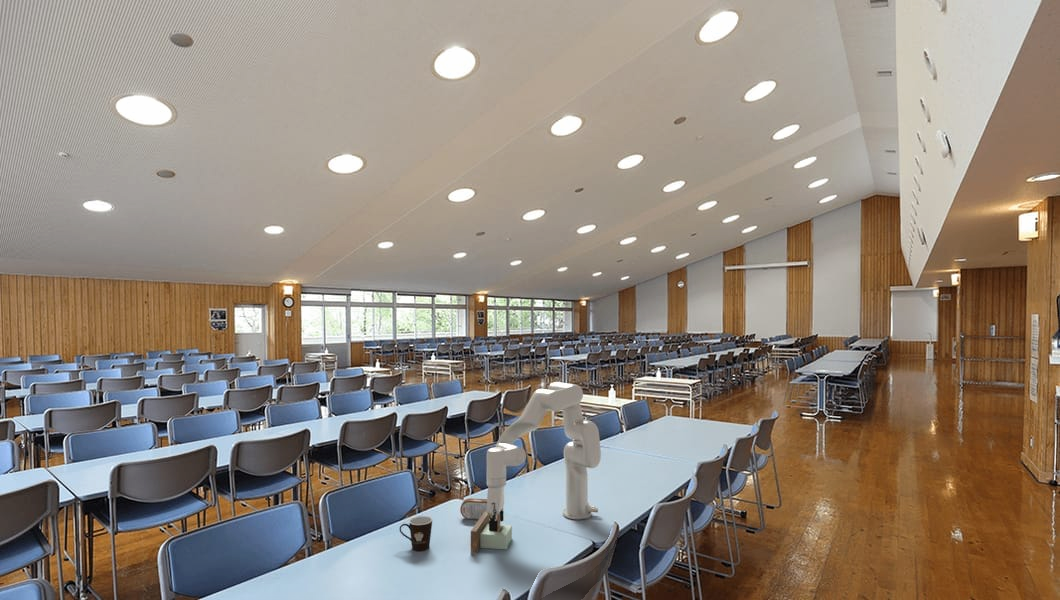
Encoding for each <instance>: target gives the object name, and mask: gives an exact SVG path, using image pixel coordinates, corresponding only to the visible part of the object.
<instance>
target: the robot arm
mask: <svg viewBox="0 0 1060 600" xmlns="http://www.w3.org/2000/svg"><path fill="white" fill-rule="evenodd" d="M583 397H584V391H583V389H582V387H581V386H580V385H578V384H575V383H568V382H562V381H561V382H560V381H555V382H551V383H549V385H548V387H547V389H546V388H538V389H536V390H535V391H534V392H533V394H532V396H531V397H530V398H529V401H528V403H527V405H526V406H525V408H524V409H523V411H522V413H521V415H520V417H519V418H518V419H516V420H515V421H514V422H513V423H511V424H510V425H509V426H508V427H506V429H505V430H503V432H502V433H501V435H500V436H499V439H498V440H497V442H496V444H495V447H491V448H490V447H489V449H487V450H486V486H487V487H488V488H487V495H486V496H487V497H486V499H487V513H489V515H490V516H489V531H496V532H497V531H498V520H497V515H498V514H499V513H500V522H504V506H505V486H506V485H507V467H516V466H520V465H522V464H523V463H524V462H525V461H526V458H527V453H526V450H525V449H524V448H522V447H521V446H518V445H516V444H514V443H515V442H516V441H517V440H518V438H520V437H521V436H523V435H525V434H528V433H530V432H534V431H536V430H537V429H539V427H540V425H541V423H542V421H543V419H544V417H545V415H546V414H547V412H549V411H550V412H560V411H562V418H563V429H564V434H565V436H566V437H567V439H569V440H572V441H569V442H567V443H566V444H565V446H564V448H563V458H564V459H563V460H564V464H565V495H566V496H565V497H566V498H565V499H566V500H565V501H566V502H565V504H566V505H565V509H563V510H562V516H564V518H567V519H571V520H577V521H578V520H586V519H588V518H590V517H592V513H599V507H596V506H595V505H592V506H591V505H590V503H589V501H588V498H589V495H588V493H589V492H588V491H589V488H588V487H589V486H588V484H589V483H588V482H589V481H588V480H589V479H588V477H589V476H588V475H589V474H588V470H587V469H594V468H597V467H598V466H599V464H600V462H601V460H602V457H601V456H602V455H601V454H602V451H601V443H600V442H601V441H600V433H599V432H600V431H599V428H598V425H596V423H595V422H593V421H591V420H589V419H585V418H584V416H583V410H582V406H581V401H582V399H583ZM494 511H495V512H494ZM493 514H495V516H494V515H493Z"/></svg>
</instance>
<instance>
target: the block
mask: <svg viewBox="0 0 1060 600" xmlns="http://www.w3.org/2000/svg"><path fill="white" fill-rule="evenodd" d="M512 532H513V525H511V524H500V532H493V531H489V524H487V525H486V526H485V528H484V529H483V531H482V532H481V534H480V548H481V549H495V550H496V549H497V550H507V549H508V547H509V545H510V543H511V541H512V539H513V538H512V537H513V536H512V535H513V533H512ZM480 548H479V549H480Z"/></svg>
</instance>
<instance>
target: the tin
mask: <svg viewBox="0 0 1060 600" xmlns="http://www.w3.org/2000/svg"><path fill="white" fill-rule="evenodd" d="M485 511H487V498H466V499H465V500H463V501H462V503H461V505H460V511H459V512H460V514H461V516H462V517H463V518H464V519H466V520H475V521H478V520H479V519H480V517H481V516H482V515H483V513H484V512H485ZM494 512H495V511H494Z"/></svg>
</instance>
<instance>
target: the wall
mask: <svg viewBox="0 0 1060 600" xmlns="http://www.w3.org/2000/svg"><path fill="white" fill-rule="evenodd" d="M489 516H490V515H489V513H487V511H485V512H484V513H483V515H482V516H481V517H480V519H479V520H477V522H476V523H475V525H474V526H472V528H471V530H470V554H472V555H475V554H477V553H478V551H479V550H480V534H481V532H482V531H483V529H484V528H485V526H486V525H487V524H489Z"/></svg>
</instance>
